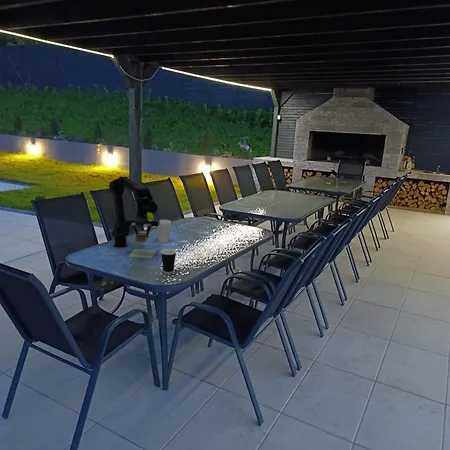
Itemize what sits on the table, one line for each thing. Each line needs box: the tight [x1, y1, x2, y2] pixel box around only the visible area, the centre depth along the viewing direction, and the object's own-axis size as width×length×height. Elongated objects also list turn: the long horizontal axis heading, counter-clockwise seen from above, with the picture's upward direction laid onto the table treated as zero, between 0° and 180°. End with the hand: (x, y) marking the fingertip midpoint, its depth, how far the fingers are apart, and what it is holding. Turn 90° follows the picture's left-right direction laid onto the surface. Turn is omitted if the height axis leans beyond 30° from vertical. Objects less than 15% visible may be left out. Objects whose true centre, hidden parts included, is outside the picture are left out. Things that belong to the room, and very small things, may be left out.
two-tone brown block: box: [135, 231, 150, 243], centre depth 225 cm, size 10×5×3 cm, turn 179°
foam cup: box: [156, 219, 172, 244], centre depth 254 cm, size 10×9×13 cm
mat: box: [128, 249, 157, 260], centre depth 227 cm, size 13×13×1 cm
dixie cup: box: [160, 248, 177, 275], centre depth 200 cm, size 8×8×11 cm
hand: (142, 237), depth 225 cm, fingers closed on two-tone brown block, 5 cm apart
